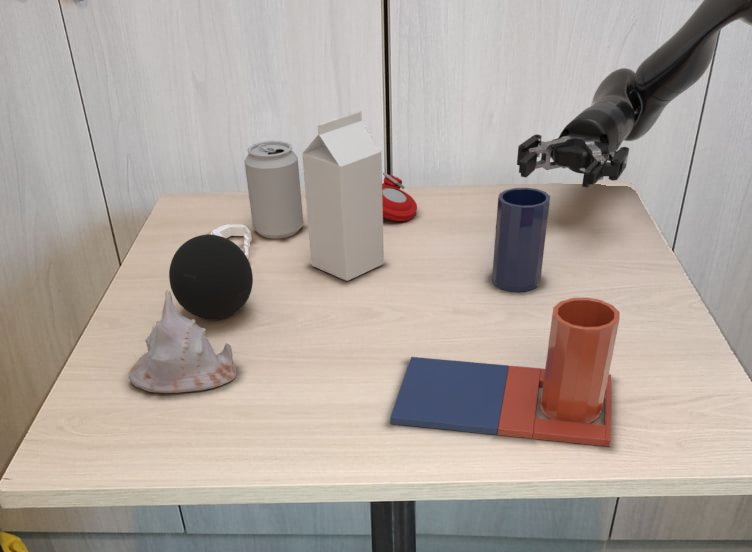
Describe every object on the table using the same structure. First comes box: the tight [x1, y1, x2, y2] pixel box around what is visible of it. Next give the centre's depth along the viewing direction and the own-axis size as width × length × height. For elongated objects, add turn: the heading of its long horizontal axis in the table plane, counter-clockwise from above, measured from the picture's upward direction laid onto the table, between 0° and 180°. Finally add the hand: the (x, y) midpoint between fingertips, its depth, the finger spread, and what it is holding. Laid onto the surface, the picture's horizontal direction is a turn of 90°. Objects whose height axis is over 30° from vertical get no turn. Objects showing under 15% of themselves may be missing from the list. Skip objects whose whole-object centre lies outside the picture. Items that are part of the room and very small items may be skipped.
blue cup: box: [491, 187, 551, 293], centre depth 102 cm, size 6×6×11 cm
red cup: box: [539, 297, 621, 424], centre depth 81 cm, size 6×6×11 cm
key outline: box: [210, 223, 253, 260], centre depth 116 cm, size 13×5×2 cm, turn 23°
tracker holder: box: [382, 171, 418, 222], centre depth 124 cm, size 12×4×10 cm
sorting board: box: [389, 356, 612, 447], centre depth 86 cm, size 22×12×1 cm, turn 77°
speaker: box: [168, 234, 254, 321], centre depth 98 cm, size 10×10×10 cm
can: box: [244, 140, 304, 240], centre depth 117 cm, size 8×8×12 cm
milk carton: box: [301, 110, 385, 282], centre depth 105 cm, size 7×7×19 cm
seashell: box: [128, 289, 238, 394], centre depth 89 cm, size 10×12×9 cm
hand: (554, 174), depth 106 cm, fingers open, 8 cm apart
